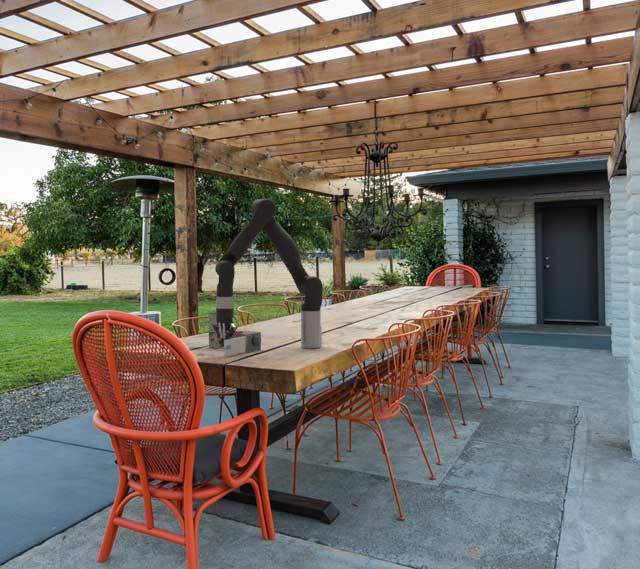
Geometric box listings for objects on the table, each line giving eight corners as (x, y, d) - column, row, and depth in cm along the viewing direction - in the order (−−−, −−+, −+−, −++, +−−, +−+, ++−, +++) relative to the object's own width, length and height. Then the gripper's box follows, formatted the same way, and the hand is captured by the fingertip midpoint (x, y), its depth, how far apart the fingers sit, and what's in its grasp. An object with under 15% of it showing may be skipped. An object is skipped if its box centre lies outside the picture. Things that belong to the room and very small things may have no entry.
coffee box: (218, 348, 261) (217, 314, 260) (208, 347, 265) (207, 313, 264) (232, 345, 269) (231, 312, 268) (222, 344, 272) (221, 311, 271)
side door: (224, 356, 239) (223, 339, 239) (245, 351, 250) (245, 335, 249) (226, 356, 238) (226, 339, 238) (248, 352, 249) (247, 336, 248)
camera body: (244, 347, 263) (244, 328, 263) (263, 349, 257) (263, 330, 256) (230, 350, 255) (230, 331, 255) (249, 352, 249) (249, 333, 248)
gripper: (207, 306, 242) (207, 346, 243) (229, 308, 235) (229, 349, 236) (220, 305, 249) (220, 344, 250) (242, 307, 241) (242, 347, 242)
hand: (224, 346), depth 243 cm, fingers closed
